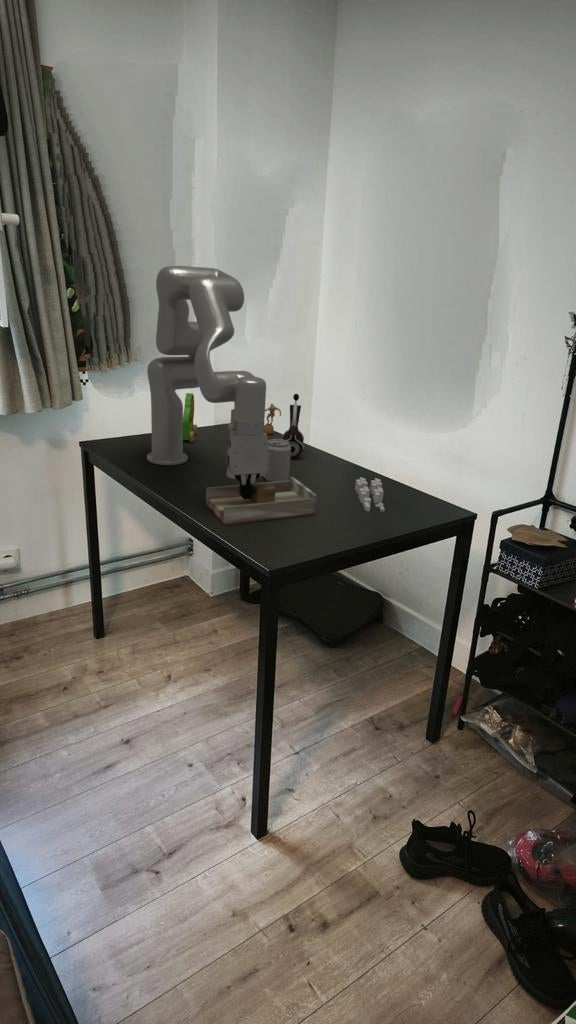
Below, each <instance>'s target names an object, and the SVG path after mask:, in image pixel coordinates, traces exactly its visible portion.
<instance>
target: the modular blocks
mask: <svg viewBox="0 0 576 1024" xmlns="http://www.w3.org/2000/svg"><path fill="white" fill-rule="evenodd" d="M381 480H382V479H380V478H377V477H375V478H374V480H372V479H370V486H368V485H369V483H368V482H367V479H366V478H364V477H359V479H355V486H354V490H355V492H356V494H358V499H359V501H360V503H361V504H362V505H363V506H362V507H363V509H364V510H365V512H370V511H371V504H372V500H373V503H374V504H375V507H376V508H379V511H380V512H385V506H384V503H383V500H384V489H383V483H382V481H381ZM370 494H371V495H372V499H371V498H370Z"/></svg>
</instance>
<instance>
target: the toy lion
mask: <svg viewBox="0 0 576 1024" xmlns="http://www.w3.org/2000/svg"><path fill="white" fill-rule="evenodd" d="M194 418H195V395H194V393H193V392H192V393H191V392H190V393H189V392H186V393H185V398H184V407H183V441H189V442H190V443H193V442H194V441H195V436H197V434H198V424H194Z"/></svg>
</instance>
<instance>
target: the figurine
mask: <svg viewBox="0 0 576 1024" xmlns="http://www.w3.org/2000/svg"><path fill="white" fill-rule="evenodd" d="M269 405H270V406H269V407H268V408H265V412H267V411H269V413H267V416H265V417H266V421H267V423H266V424H265V423H264V433H266V434H267V435H271V434H272V433H273V432H274V431H275V430H274V425H273V422H274V419H273V418H274V417H275V415H276V414H275V411H278V412H279V416H280V417H281V416H282V413H281V412H282V411H281V409H280V408H278V407H277V406H275V405H274V404H273V403H271V404H269ZM269 418H270V419H269Z"/></svg>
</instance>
